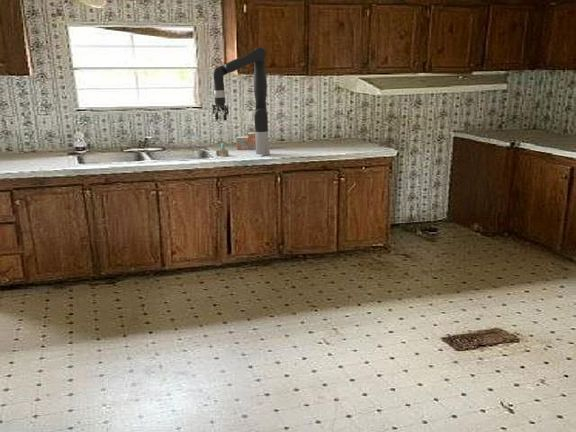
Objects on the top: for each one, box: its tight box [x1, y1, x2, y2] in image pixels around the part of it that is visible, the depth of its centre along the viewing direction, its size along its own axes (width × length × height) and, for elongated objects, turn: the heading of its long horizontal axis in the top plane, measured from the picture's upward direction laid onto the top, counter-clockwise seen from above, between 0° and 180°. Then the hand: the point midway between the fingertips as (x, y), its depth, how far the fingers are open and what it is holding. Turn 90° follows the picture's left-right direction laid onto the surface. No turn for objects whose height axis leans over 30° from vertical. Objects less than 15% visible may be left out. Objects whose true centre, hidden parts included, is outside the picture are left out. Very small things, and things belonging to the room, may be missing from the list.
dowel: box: [221, 142, 226, 151], centre depth 398 cm, size 2×2×9 cm
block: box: [217, 148, 229, 157], centre depth 399 cm, size 5×5×4 cm
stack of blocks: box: [236, 131, 256, 150], centre depth 431 cm, size 21×6×12 cm, turn 92°
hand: (221, 119), depth 394 cm, fingers open, 8 cm apart
